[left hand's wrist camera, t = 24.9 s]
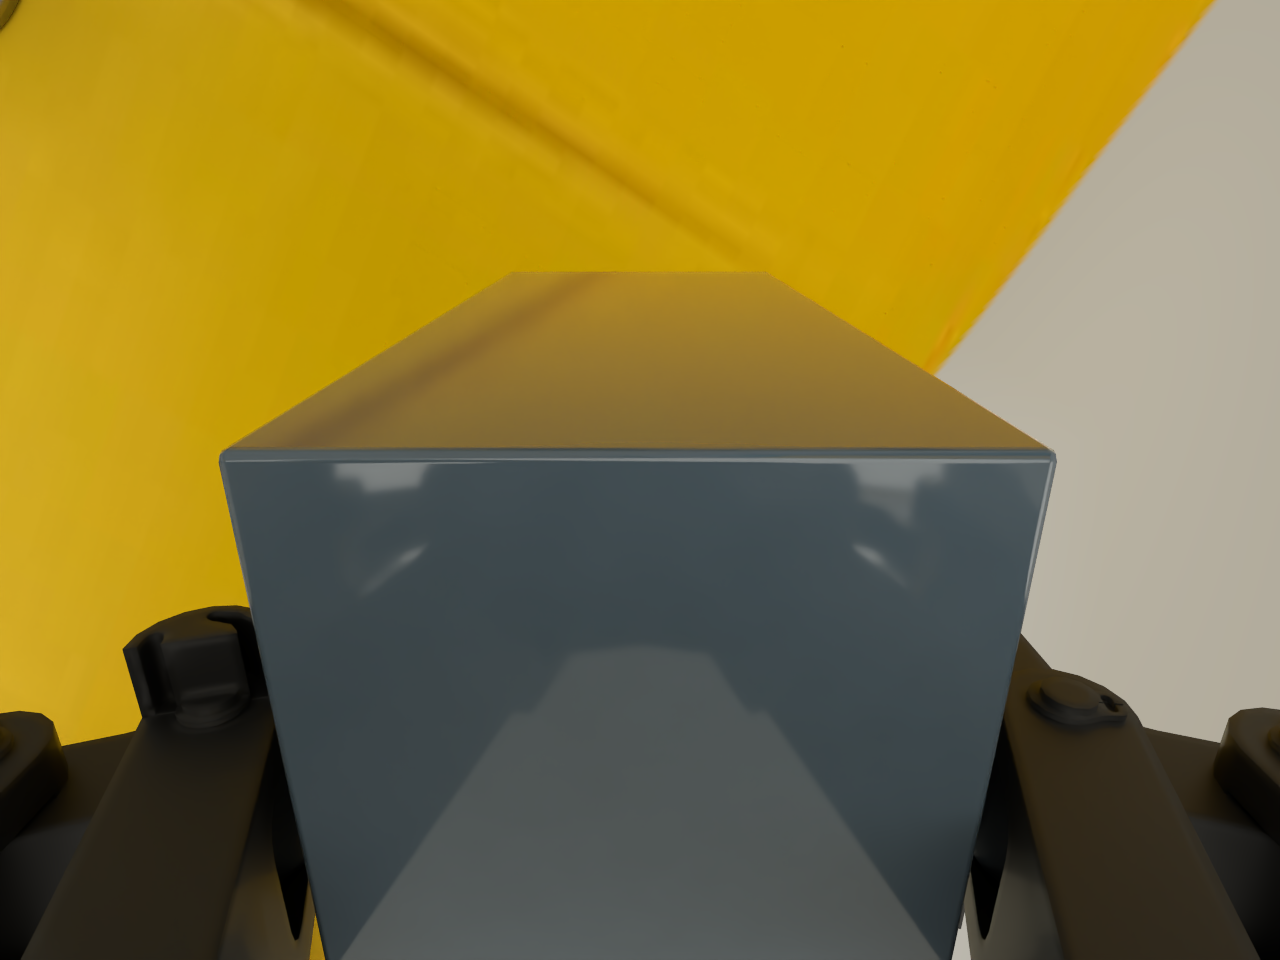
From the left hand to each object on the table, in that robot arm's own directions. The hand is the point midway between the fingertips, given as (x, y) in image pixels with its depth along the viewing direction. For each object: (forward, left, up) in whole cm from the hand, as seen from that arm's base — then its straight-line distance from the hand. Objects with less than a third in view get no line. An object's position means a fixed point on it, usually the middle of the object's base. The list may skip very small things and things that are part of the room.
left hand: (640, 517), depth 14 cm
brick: (0, 0, -4) cm, 4 cm away
